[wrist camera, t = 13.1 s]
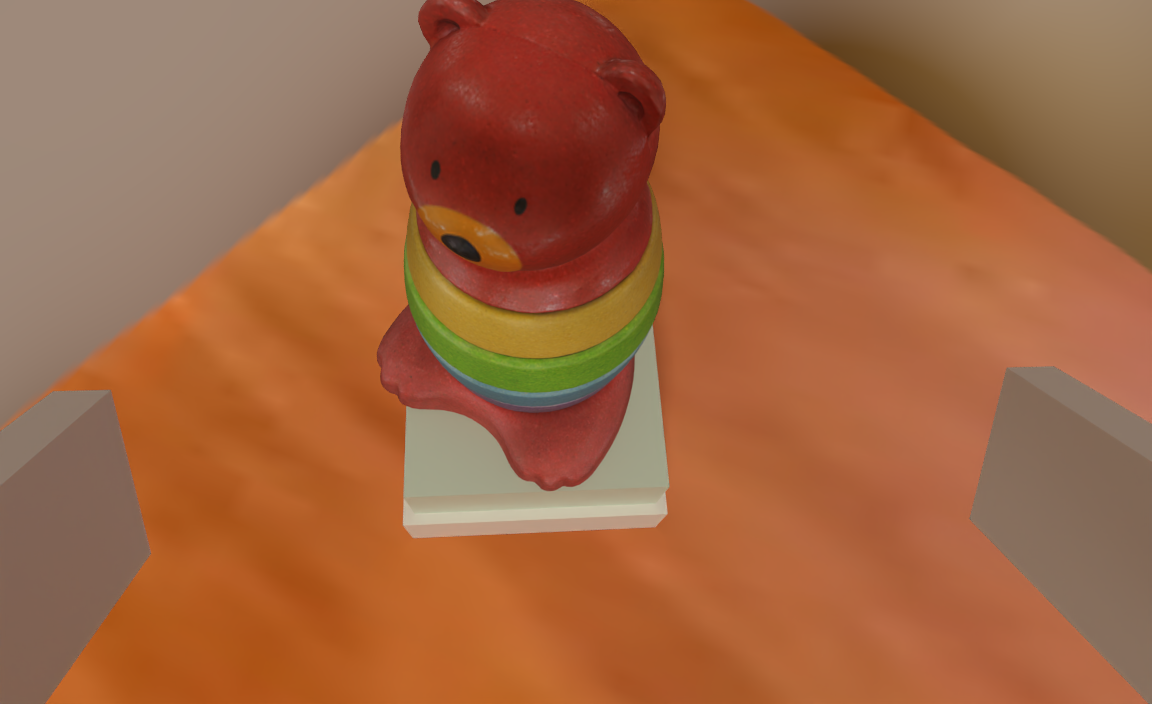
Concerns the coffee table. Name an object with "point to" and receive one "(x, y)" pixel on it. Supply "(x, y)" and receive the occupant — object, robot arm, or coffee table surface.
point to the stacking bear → (528, 229)
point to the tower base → (511, 505)
